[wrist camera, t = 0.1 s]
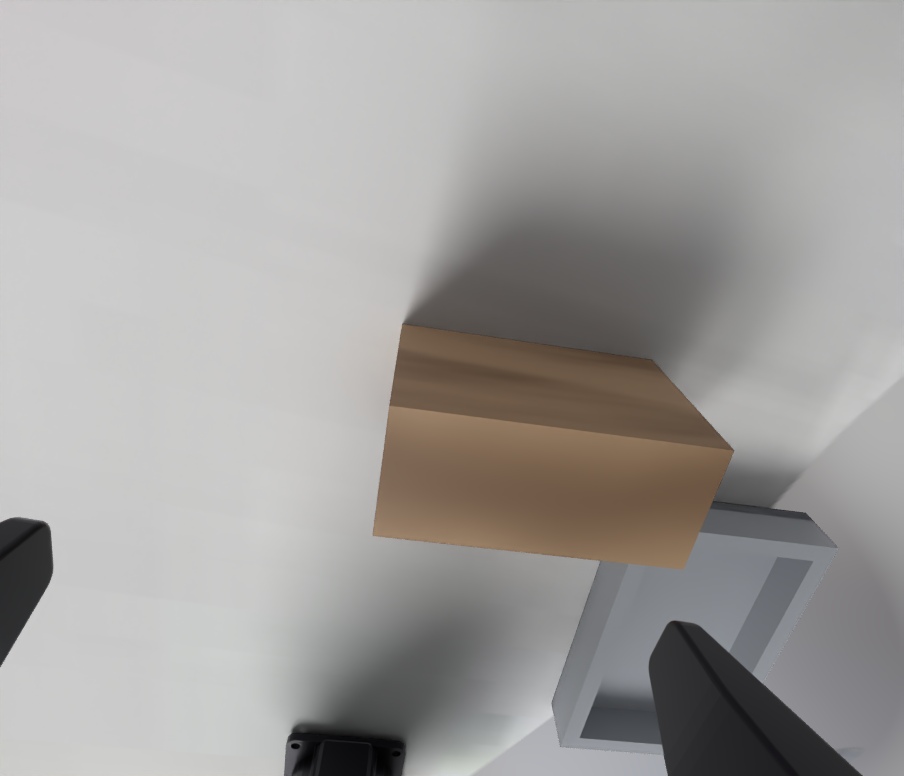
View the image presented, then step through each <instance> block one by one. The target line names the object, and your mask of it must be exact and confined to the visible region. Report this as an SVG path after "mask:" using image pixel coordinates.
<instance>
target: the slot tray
mask: <svg viewBox="0 0 904 776" xmlns="http://www.w3.org/2000/svg"><path fill="white" fill-rule="evenodd" d="M838 550H839V548H838V547H837V546H836V544H835V543H834V542H833V541H832V540H831V539H830V538H829V537H828V536H827V535H826V534H825V533H824V532H823V531H822V530H821V529H820V527H818V525H817V524H816V523H815V522H814V521H813V520H812V519H811V518H810V517H809V516H808V515H807V514H806V513H803V512H795V511H786V510H778V509H770V508H762V507H754V506H746V505H737V504H729V503H721V502H712V504H711V506H710V509H709V511H708V513H707V516H706V518H705V520H704V523H703V525H702V527H701V530H700V532H699V534H698V537H697V539H696V542H695V544H694V546H693V549H692V551H691V553H690V556H689V558H688V560H687V563H686V565H685V567H684V570H681V569H672V568H663V567H654V566H645V565H636V564H626V563H617V562H608V561H601V562H600V565H599V568H598V571H597V574H596V576H595V579H594V582H593V585H592V588H591V591H590V594H589V597H588V600H587V602H586V605H585V608H584V611H583V614H582V617H581V620H580V623H579V626H578V628H577V631H576V634H575V637H574V640H573V643H572V646H571V649H570V651H569V654H568V657H567V660H566V663H565V666H564V669H563V672H562V675H561V677H560V680H559V683H558V686H557V689H556V692H555V695H554V698H553V701H552V708H553V713H554V718H555V723H556V728H557V733H558V738H559V743H560V747H566V748H580V749H593V750H605V751H619V752H630V753H643V754H657V755H664V754H663V748H662V743H661V737H660V732H659V726H658V721H657V716H656V710H655V705H654V699H653V694H652V688H651V683H650V677H649V669H648V665H649V659H650V656H651V653H652V651H653V650H654V648H655V646H656V644H657V642H658V640H659V638H660V636H661V634H662V632H663V630H664V629H665V627H666V625H667V624H668V623H669V622H671V621H673V620H677V621H684V622H690V623H695V624H697V625H699V626H701V627H702V628H703V629H704V630H705V631H706V632H707V633H708V634H709V635H711V636H712V637H713V638H714V639H715V640H716V641H717V642H718V643H719V644H720V645H721V646H722V647H724V648H725V649H726V650H727V651H728V652H729V653H730V654H731V655H732V656H733V657H734V658H735V659H737V660H738V661H739V662H740V663H741V664H742V665H743V666H744V667H745V668H746V669H747V670H748V671H750V672H751V673H752V674H753V675H754V676H755V677H756V678H757V679H758V680H759V681H760V682H761V683H764V681H765V679H766V678H767V676H768V674H769V672H770V670H771V669H772V667H773V665H774V663H775V661H776V660H777V658H778V656H779V654H780V653H781V651H782V649H783V647H784V646H785V644H786V642H787V640H788V638H789V636H790V635H791V633H792V631H793V629H794V628H795V626H796V624H797V622H798V621H799V619H800V617H801V615H802V614H803V611H804V610H805V608H806V606H807V605H808V603H809V601H810V599H811V598H812V596H813V594H814V592H815V590H816V589H817V587H818V585H819V583H820V582H821V580H822V578H823V576H824V574H825V572H826V571H827V569H828V567H829V565H830V564H831V562H832V560H833V559H834V557H835V555H836V553H837V551H838Z"/></svg>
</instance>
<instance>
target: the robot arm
mask: <svg viewBox="0 0 904 776" xmlns="http://www.w3.org/2000/svg"><path fill="white" fill-rule="evenodd" d="M52 574H53V554H52V541H51V530H50V527H49V525H48V524H47V523H46V522H44V521H40V520H33V519H27V518H20V517H14V518H10V519H7V520H5V521H2V522H0V667H1V665H2V664H3V662H4V660H5V658H6V657H7V655H8V653H9V652H10V650H11V648H12V647H13V645H14V643H15V641H16V640H17V638H18V636H19V635H20V633H21V631H22V629H23V628H24V626H25V624H26V623H27V621H28V619H29V618H30V616H31V614H32V612H33V611H34V609H35V607H36V606H37V604H38V602H39V600H40V599H41V597H42V595H43V594H44V592H45V590H46V588H47V587H48V585H49V583H50V580H51V577H52ZM648 669H649V677H650V683H651V688H652V694H653V699H654V705H655V710H656V716H657V721H658V726H659V732H660V737H661V743H662V748H663V754H664V759H665V764H666V769H667V773H668V776H862V775H861V774H860V773H859V772H858V771H857V770H856V769H855V768H854V767H853V766H851V765H850V764H849V763H848V762H847V761H846V760H845V759H844V758H843V757H842V756H841V755H840V754H838V753H837V752H836V751H835V750H834V749H833V748H832V747H831V746H830V745H829V744H828V743H827V742H825V741H824V740H823V739H822V738H821V737H820V736H819V735H818V734H816V732H815V731H813V730H812V729H811V728H810V727H809V726H808V725H807V724H806V723H805V722H804V721H803V720H802V719H801V718H799V717H798V716H797V715H796V714H795V713H794V712H793V711H792V710H791V709H790V708H788V706H786V705H785V704H784V703H783V702H782V701H781V700H780V699H779V698H778V697H777V696H775V695H774V694H773V693H772V692H771V691H770V690H769V689H768V688H767V687H766V686H765V685H764V684H763V683H761V682H760V681H759V680H758V679H757V678H756V677H755V676H754V675H753V674H752V673H751V672H750V671H748V670H747V669H746V668H745V667H744V666H743V665H742V664H741V663H740V662H739V661H738V660H737V659H735V658H734V657H733V656H732V655H731V654H730V653H729V652H728V651H727V650H726V649H725V648H724V647H722V646H721V645H720V644H719V643H718V642H717V641H716V640H715V639H714V638H713V637H712V636H711V635H709V634H708V633H707V632H706V631H705V630H704V629H703V628H702V627H701V626H699V625H697V624H695V623H690V622H684V621H677V620H673V621H671V622H669V623H668V624H667V625H666V627H665V629H664V630H663V632H662V634H661V636H660V638H659V640H658V642H657V644H656V646H655V648H654V650H653V651H652V653H651V656H650V659H649V665H648ZM405 750H406V746H405V744H404V743H403V742H400V741H392V740H379V739H366V738H353V737H340V736H327V735H314V734H301V733H294V734H291V735H289V737H288V740H287V744H286V755H285V771H284V776H401V774H402V769H403V764H404V759H405Z"/></svg>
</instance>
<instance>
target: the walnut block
mask: <svg viewBox="0 0 904 776" xmlns="http://www.w3.org/2000/svg"><path fill="white" fill-rule="evenodd" d="M733 452H734V450H733V449H732V448H731V446H730V445H729V444H728V443H727V442H726V441H725V440H724V439H723V438H722V437H721V435H720V434H719V433H718V432H717V431H716V430H715V429H714V428H713V427H712V425H711V424H710V423H709V422H708V421H707V420H706V419H705V418H704V417H703V416H702V414H701V413H700V412H699V411H698V410H697V409H696V408H695V407H694V406H693V405H692V403H691V402H690V401H689V400H688V399H687V398H686V397H685V396H684V395H683V393H682V392H681V391H680V390H679V389H678V388H677V387H676V386H675V385H674V384H673V382H672V381H671V380H670V379H669V378H668V377H667V376H666V375H665V374H664V372H663V371H662V370H661V369H660V368H659V367H658V366H657V365H656V364H655V363H654V361H653V360H649V359H642V358H635V357H628V356H621V355H614V354H607V353H600V352H593V351H586V350H579V349H572V348H565V347H558V346H551V345H545V344H538V343H531V342H524V341H517V340H510V339H503V338H496V337H489V336H482V335H475V334H468V333H461V332H454V331H447V330H441V329H434V328H427V327H420V326H413V325H406V324H402V329H401V335H400V342H399V348H398V354H397V361H396V367H395V373H394V380H393V386H392V393H391V399H390V405H389V413H388V421H387V428H386V436H385V444H384V452H383V459H382V467H381V475H380V482H379V490H378V498H377V506H376V513H375V521H374V529H373V536H379V537H388V538H397V539H406V540H415V541H425V542H434V543H443V544H452V545H461V546H470V547H480V548H489V549H498V550H507V551H516V552H526V553H535V554H544V555H553V556H562V557H571V558H581V559H590V560H599V561H608V562H617V563H626V564H636V565H645V566H654V567H663V568H672V569H681V570H684V567H685V565H686V563H687V560H688V558H689V556H690V553H691V551H692V549H693V546H694V544H695V542H696V539H697V537H698V534H699V532H700V530H701V527H702V525H703V523H704V520H705V518H706V516H707V513H708V511H709V509H710V506H711V504H712V502H713V499H714V497H715V495H716V492H717V490H718V488H719V485H720V483H721V481H722V478H723V476H724V474H725V471H726V469H727V467H728V464H729V462H730V460H731V457H732V455H733Z"/></svg>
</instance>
